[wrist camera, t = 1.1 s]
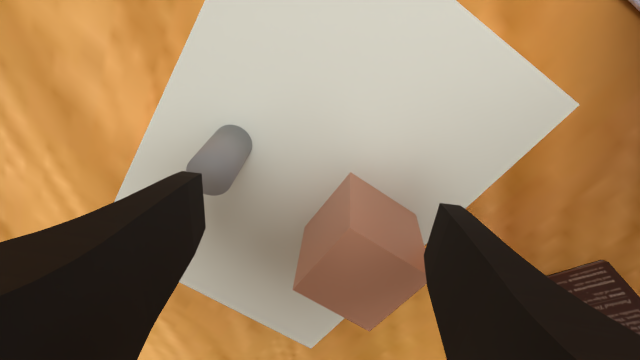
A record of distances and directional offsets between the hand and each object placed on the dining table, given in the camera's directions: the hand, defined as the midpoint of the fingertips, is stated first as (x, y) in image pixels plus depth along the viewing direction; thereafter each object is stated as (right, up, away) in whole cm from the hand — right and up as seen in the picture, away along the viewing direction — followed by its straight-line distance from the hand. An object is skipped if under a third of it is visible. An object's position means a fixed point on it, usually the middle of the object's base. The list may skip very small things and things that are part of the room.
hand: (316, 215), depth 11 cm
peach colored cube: (+2, -1, +9) cm, 9 cm away
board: (-1, +2, +9) cm, 9 cm away
